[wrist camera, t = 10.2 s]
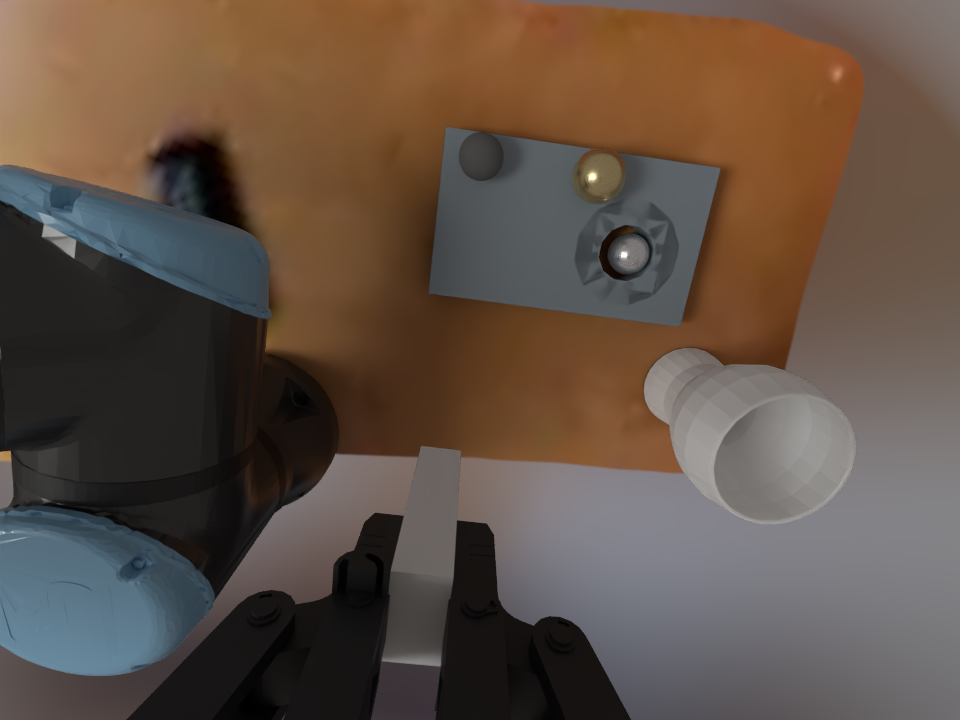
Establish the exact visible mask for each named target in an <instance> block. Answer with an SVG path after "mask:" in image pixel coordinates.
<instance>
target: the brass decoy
mask: <svg viewBox="0 0 960 720" xmlns="http://www.w3.org/2000/svg"><path fill="white" fill-rule="evenodd" d="M625 180H626V167H625V164H624V161H623V159H622V158H621V156H620V155H619V154H618V153H616V152H615V151H613V150H611V149H608V148H595V149H592V150H589V151H587V152H586V153H584V154H583V155H582V156H581V157H580V158H579V159H578V161H577V162H576V164H575V166H574V169H573V172H572V185H573V188H574V191H575V192H576V194H577V195H578V196H579V197H580V198H581V199H582V200H583V201H585V202H587V203H590V204H604V203H606V202H609V201H611V200H612V199H614V198H615V197H616V196H617V195H618V194H619V193H620V191H621V190H622V188H623V186H624V184H625Z"/></svg>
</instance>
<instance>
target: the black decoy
mask: <svg viewBox="0 0 960 720" xmlns="http://www.w3.org/2000/svg"><path fill="white" fill-rule="evenodd" d="M503 160H504V153H503V148H502V146H501V144H500V142H499V141H498V139H497V138H496V137H494V136H493V135H491V134H489V133H486V132H476V133H473V134H471V135H469V136H468V137H467V138H466V139H465V140H464V141H463V143H462V144H461V147H460V150H459V163H460V166H461V168H462V170H463V172H464V173H465V174H466V175H467V176H468V177H470V178H471V179H473V180H476V181H486V180H489V179H491V178H493V177H494V176H495V175H497V173H498V172H499V171H500V169H501V167H502V165H503Z"/></svg>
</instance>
